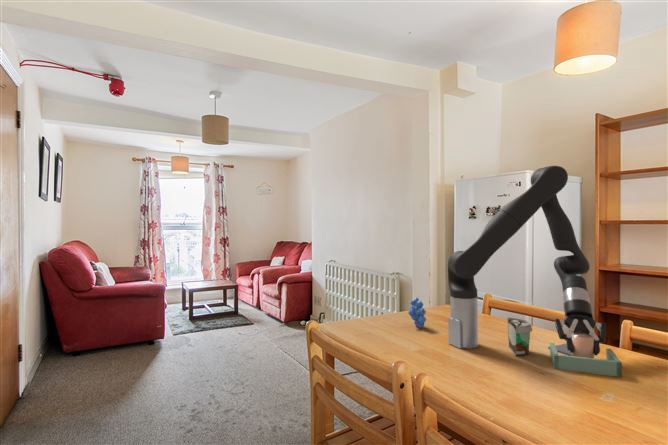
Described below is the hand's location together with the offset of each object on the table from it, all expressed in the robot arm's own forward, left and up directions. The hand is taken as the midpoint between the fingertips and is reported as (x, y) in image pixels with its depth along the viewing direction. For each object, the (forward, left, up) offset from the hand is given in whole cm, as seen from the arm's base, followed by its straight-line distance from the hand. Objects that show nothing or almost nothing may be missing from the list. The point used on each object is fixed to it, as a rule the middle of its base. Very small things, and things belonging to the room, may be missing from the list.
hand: (584, 352), depth 114 cm
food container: (-6, +17, -5) cm, 19 cm away
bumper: (+1, +1, -4) cm, 5 cm away
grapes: (-20, +58, -4) cm, 62 cm away
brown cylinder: (+1, +1, -4) cm, 5 cm away
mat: (+9, +11, -4) cm, 15 cm away
